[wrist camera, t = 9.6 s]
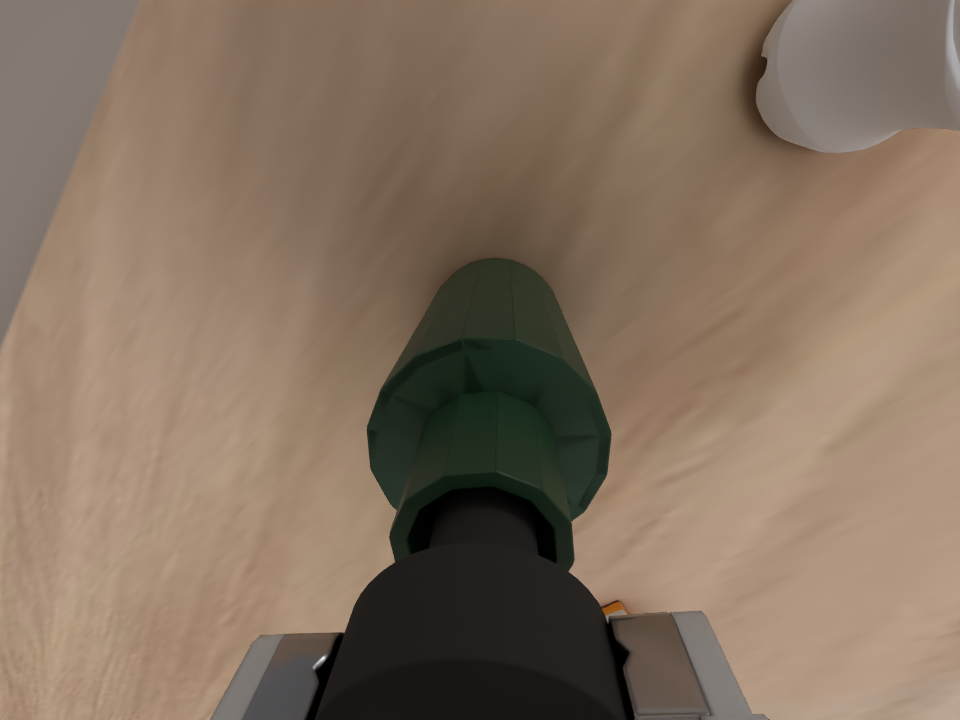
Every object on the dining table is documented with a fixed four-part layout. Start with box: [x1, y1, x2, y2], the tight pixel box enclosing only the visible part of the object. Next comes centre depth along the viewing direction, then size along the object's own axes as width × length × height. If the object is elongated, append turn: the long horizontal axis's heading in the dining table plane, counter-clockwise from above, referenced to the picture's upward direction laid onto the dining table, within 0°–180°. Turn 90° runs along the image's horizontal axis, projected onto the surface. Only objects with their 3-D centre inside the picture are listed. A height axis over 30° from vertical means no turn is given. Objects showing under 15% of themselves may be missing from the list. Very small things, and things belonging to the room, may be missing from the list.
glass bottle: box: [367, 258, 611, 571], centre depth 19 cm, size 7×7×18 cm
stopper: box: [315, 486, 630, 720], centre depth 9 cm, size 5×5×6 cm
